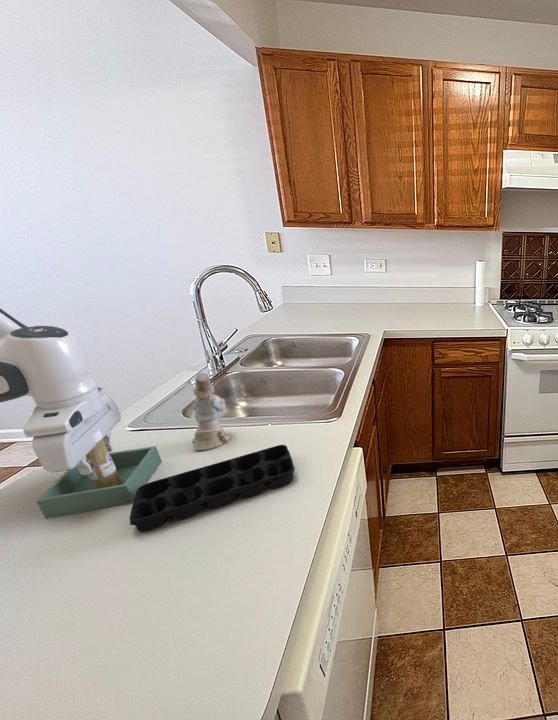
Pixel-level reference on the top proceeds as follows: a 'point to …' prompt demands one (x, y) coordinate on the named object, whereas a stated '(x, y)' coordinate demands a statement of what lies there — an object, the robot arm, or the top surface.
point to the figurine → (208, 415)
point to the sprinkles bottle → (102, 465)
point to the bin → (81, 496)
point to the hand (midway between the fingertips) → (97, 462)
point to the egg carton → (210, 487)
